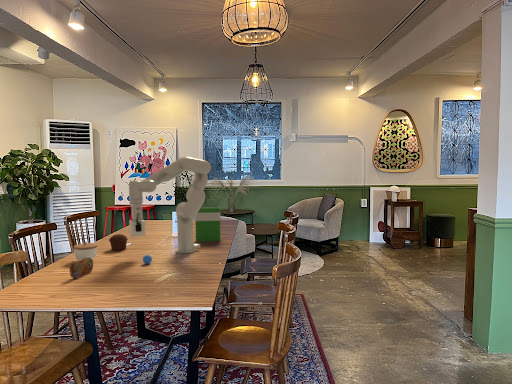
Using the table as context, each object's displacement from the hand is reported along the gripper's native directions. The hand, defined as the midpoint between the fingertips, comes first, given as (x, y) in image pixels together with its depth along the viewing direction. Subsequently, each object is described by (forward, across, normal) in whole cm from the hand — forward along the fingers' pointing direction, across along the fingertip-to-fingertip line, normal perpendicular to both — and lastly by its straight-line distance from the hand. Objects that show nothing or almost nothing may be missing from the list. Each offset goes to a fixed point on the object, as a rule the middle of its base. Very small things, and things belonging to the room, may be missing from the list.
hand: (137, 230), depth 224 cm
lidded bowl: (+16, +7, +28) cm, 34 cm away
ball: (+14, -18, -2) cm, 23 cm away
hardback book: (+17, +28, -56) cm, 65 cm away
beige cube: (+3, 0, 0) cm, 3 cm away
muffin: (+17, +28, +7) cm, 33 cm away
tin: (+16, -25, +32) cm, 44 cm away
